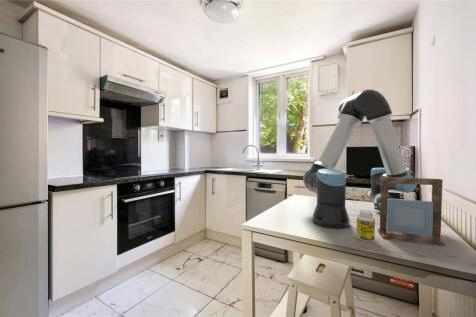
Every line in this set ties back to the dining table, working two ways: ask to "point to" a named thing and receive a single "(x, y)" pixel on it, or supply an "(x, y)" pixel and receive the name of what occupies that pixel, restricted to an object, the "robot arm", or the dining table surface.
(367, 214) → the supplement bottle
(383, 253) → the dining table surface
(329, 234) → the dining table surface
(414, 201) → the panel
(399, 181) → the gate frame
